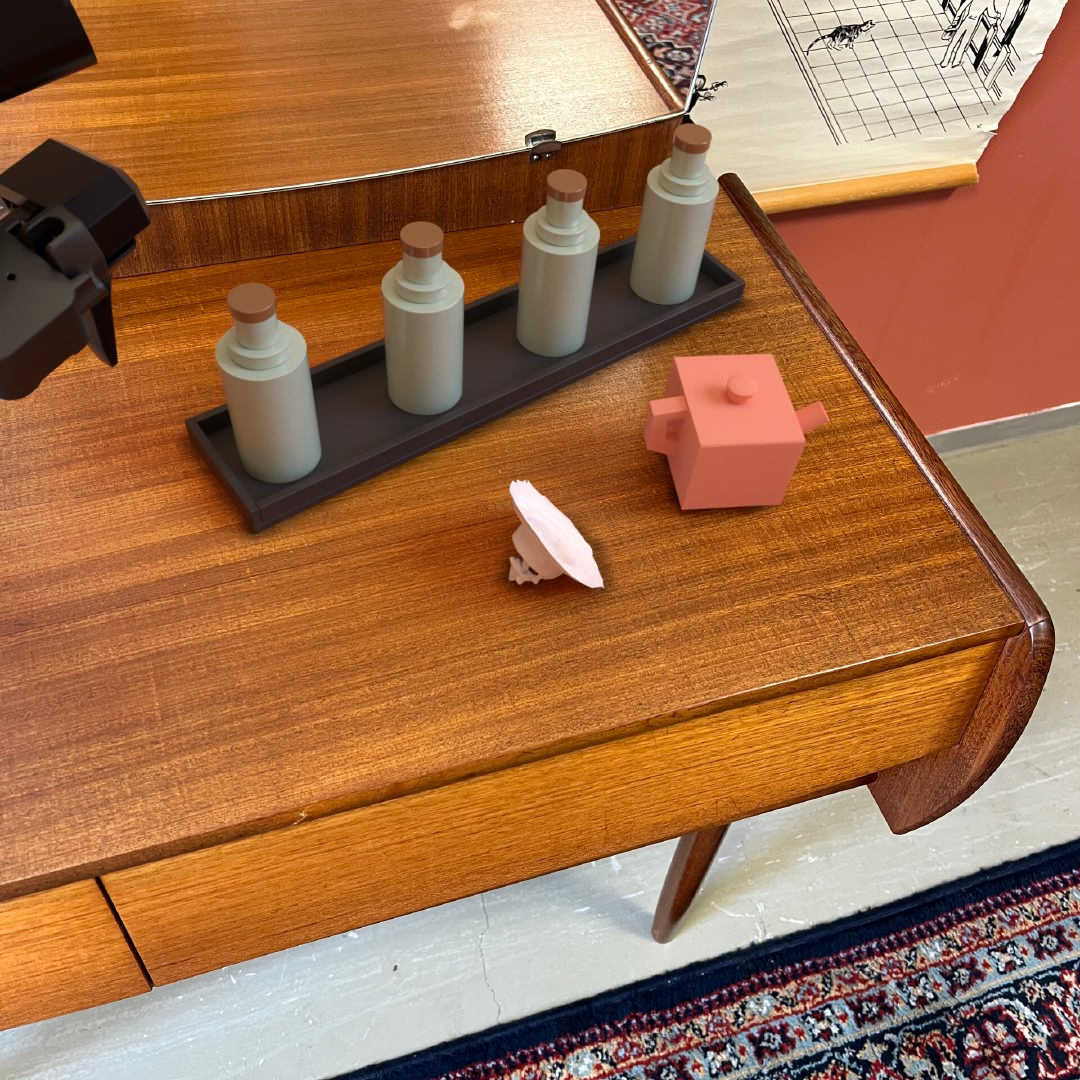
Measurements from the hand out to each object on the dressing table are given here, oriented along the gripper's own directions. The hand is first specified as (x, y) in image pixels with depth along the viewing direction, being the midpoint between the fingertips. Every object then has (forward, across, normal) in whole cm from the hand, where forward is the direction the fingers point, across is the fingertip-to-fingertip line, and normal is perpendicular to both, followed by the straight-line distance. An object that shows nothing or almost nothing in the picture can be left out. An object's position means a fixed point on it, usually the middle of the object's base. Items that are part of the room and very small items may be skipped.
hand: (42, 422), depth 51 cm
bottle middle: (+18, +31, -8) cm, 37 cm away
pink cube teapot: (+19, +28, -25) cm, 42 cm away
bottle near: (+16, +21, -5) cm, 26 cm away
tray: (+17, +26, -6) cm, 32 cm away
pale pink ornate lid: (+16, +14, -20) cm, 29 cm away
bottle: (+14, +10, -1) cm, 17 cm away
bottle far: (+20, +41, -11) cm, 47 cm away
